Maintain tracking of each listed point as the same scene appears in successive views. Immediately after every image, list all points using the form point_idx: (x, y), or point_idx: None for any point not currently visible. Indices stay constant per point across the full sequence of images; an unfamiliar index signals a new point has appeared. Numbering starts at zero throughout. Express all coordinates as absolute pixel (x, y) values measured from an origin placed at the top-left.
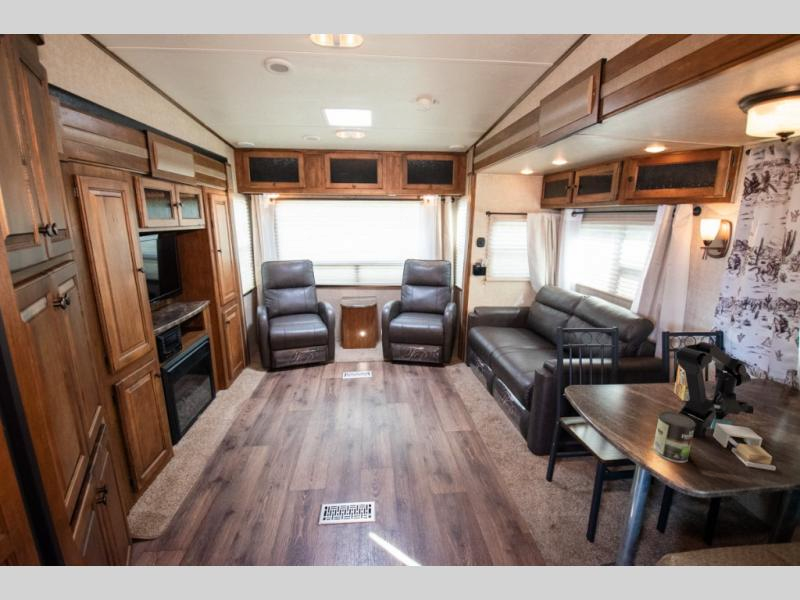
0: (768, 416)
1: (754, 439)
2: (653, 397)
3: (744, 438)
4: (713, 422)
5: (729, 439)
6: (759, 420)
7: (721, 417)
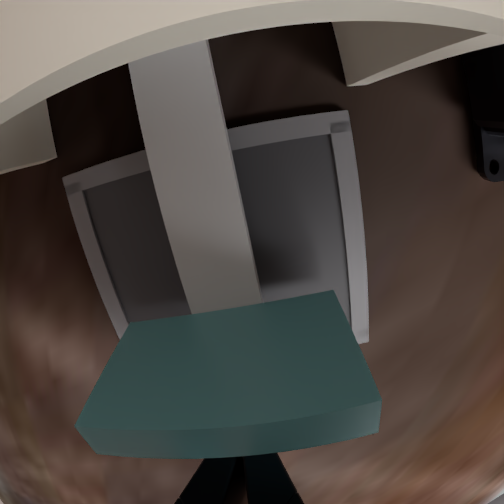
0: (25, 494)
1: None
2: (448, 499)
3: (14, 160)
4: (359, 356)
5: (186, 69)
6: (33, 480)
7: (212, 493)
